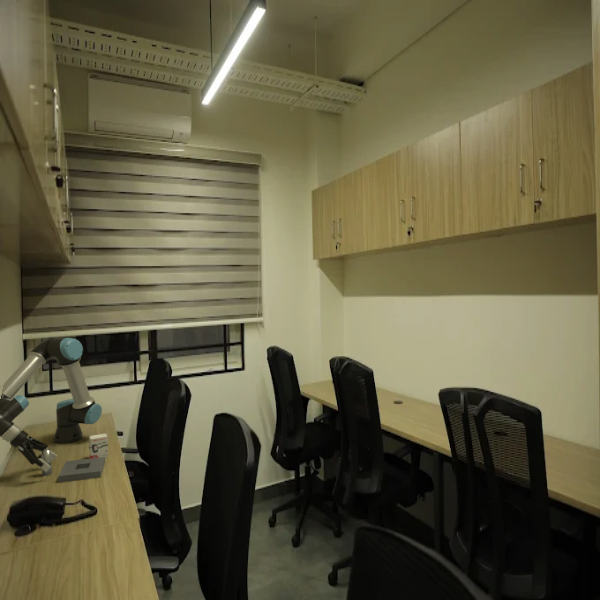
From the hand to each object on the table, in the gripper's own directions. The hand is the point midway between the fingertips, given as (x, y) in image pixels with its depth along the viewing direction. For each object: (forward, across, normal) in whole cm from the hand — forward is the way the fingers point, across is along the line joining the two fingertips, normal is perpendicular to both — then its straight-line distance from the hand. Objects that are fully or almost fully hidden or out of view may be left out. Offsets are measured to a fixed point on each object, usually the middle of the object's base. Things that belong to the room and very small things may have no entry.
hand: (52, 463), depth 211 cm
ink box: (+17, -15, +9) cm, 25 cm away
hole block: (+13, +2, +6) cm, 15 cm away
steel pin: (+2, 0, -5) cm, 6 cm away
